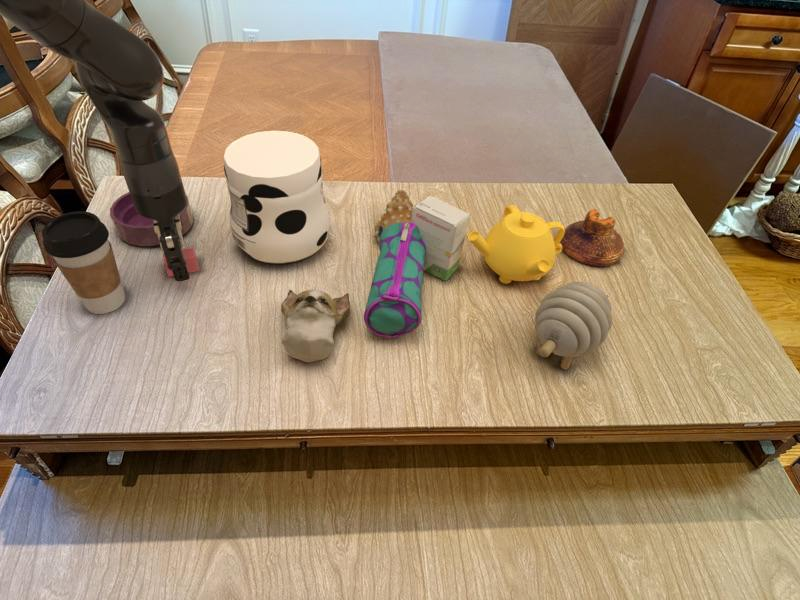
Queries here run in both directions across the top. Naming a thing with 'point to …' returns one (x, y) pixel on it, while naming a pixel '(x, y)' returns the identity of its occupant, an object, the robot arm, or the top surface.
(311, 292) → the ceramic sculpture
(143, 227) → the bowl
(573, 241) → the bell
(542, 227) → the teapot
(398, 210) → the seashell
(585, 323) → the toy sheep
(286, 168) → the milk container
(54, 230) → the coffee cup
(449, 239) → the ink box
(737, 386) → the top surface
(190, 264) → the eraser
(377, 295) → the pencil case
